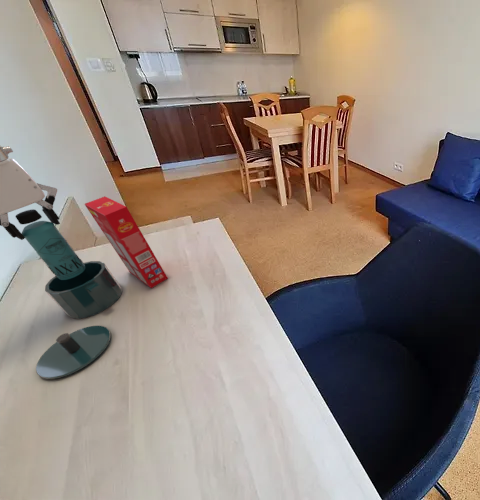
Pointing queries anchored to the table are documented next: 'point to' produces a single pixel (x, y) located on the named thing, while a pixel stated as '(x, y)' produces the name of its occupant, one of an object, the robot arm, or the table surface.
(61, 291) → the pot
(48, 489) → the table surface
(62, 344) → the lid
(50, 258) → the beverage bottle
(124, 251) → the food packaging
